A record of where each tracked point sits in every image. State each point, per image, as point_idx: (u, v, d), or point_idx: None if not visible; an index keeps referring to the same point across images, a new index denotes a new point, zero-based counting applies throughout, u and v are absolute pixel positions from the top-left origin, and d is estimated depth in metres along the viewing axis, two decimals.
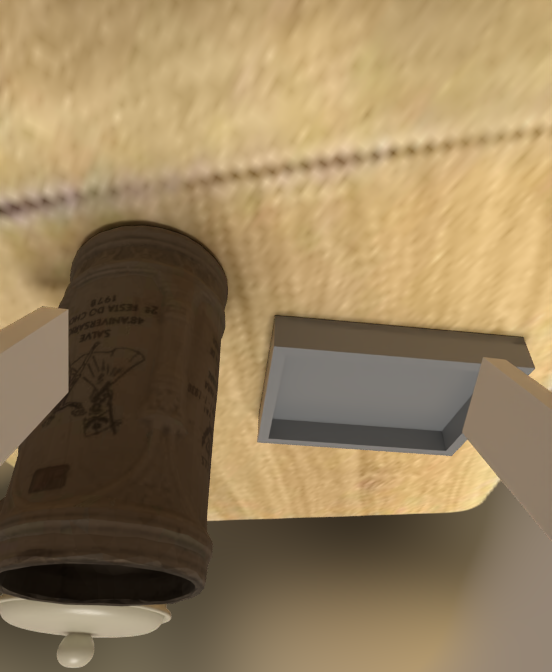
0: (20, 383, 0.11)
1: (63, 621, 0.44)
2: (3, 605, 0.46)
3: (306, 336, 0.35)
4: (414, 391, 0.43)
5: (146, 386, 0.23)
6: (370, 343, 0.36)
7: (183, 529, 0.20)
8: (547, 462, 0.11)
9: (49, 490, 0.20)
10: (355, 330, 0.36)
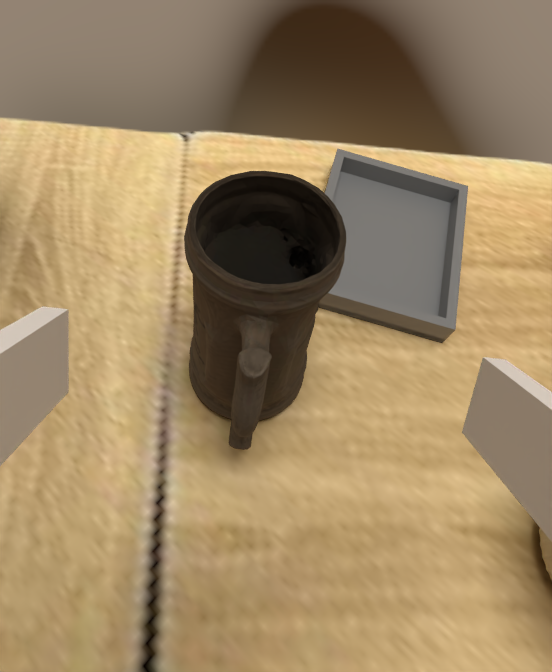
0: (20, 383, 0.11)
1: None
2: None
3: None
4: (388, 219, 0.55)
5: None
6: None
7: None
8: (547, 462, 0.11)
9: None
10: None
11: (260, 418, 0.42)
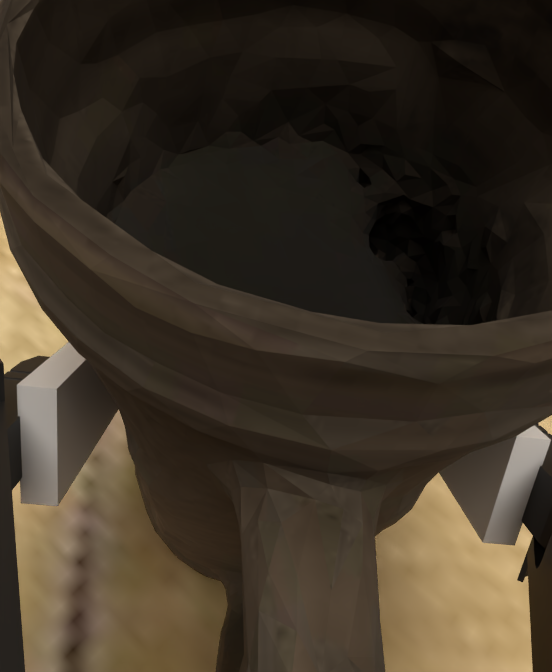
0: None
1: None
2: None
3: None
4: None
5: None
6: None
7: None
8: None
9: None
10: None
11: None
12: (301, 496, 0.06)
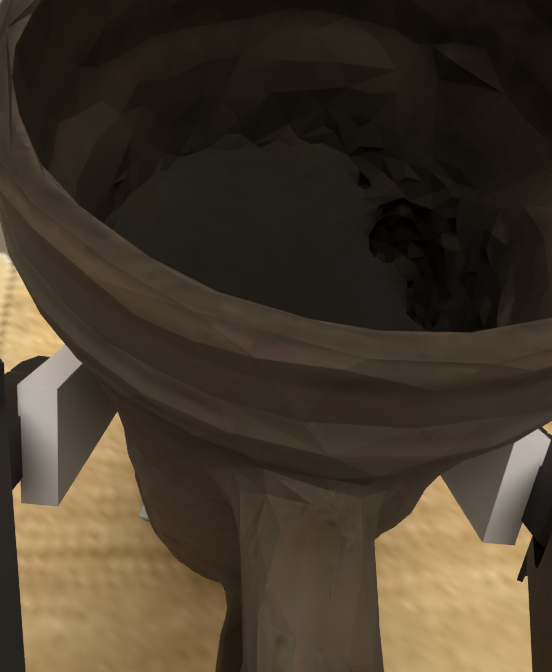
0: None
1: None
2: None
3: None
4: None
5: None
6: None
7: None
8: None
9: None
10: None
11: None
12: (300, 502, 0.06)
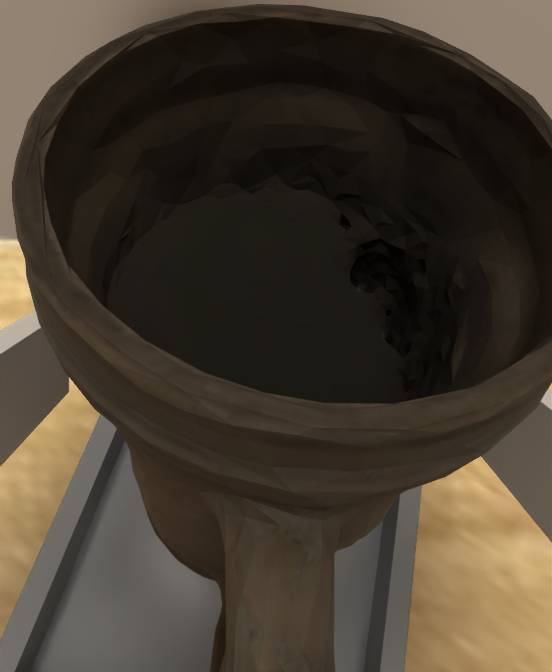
0: (20, 383, 0.11)
1: None
2: None
3: None
4: None
5: None
6: None
7: None
8: (547, 462, 0.11)
9: None
10: None
11: None
12: (272, 524, 0.07)
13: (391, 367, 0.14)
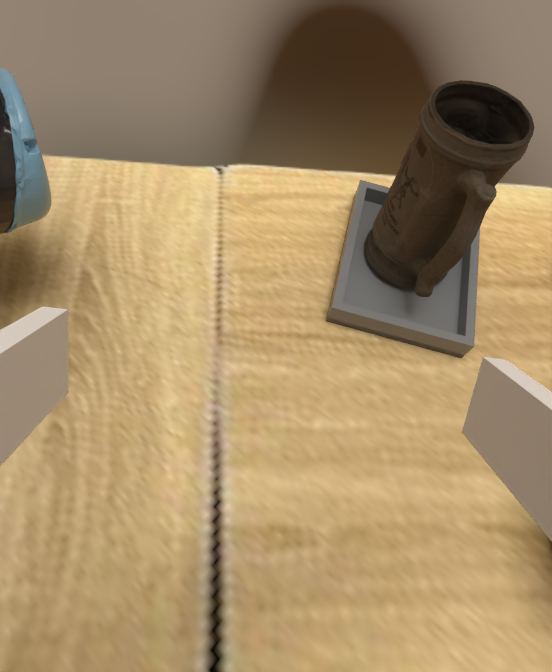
0: (20, 383, 0.11)
1: None
2: None
3: (333, 295, 0.54)
4: None
5: (404, 161, 0.50)
6: (341, 261, 0.56)
7: None
8: (547, 462, 0.11)
9: (421, 139, 0.43)
10: (337, 273, 0.56)
11: None
12: (475, 173, 0.41)
13: None
